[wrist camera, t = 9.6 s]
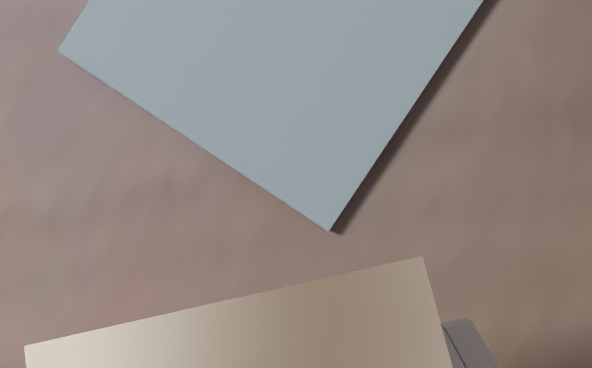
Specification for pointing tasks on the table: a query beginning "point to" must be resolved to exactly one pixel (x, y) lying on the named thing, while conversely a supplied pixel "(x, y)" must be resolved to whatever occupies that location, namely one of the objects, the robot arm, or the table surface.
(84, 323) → the table surface
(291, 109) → the blue-grey mat
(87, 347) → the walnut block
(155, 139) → the table surface
